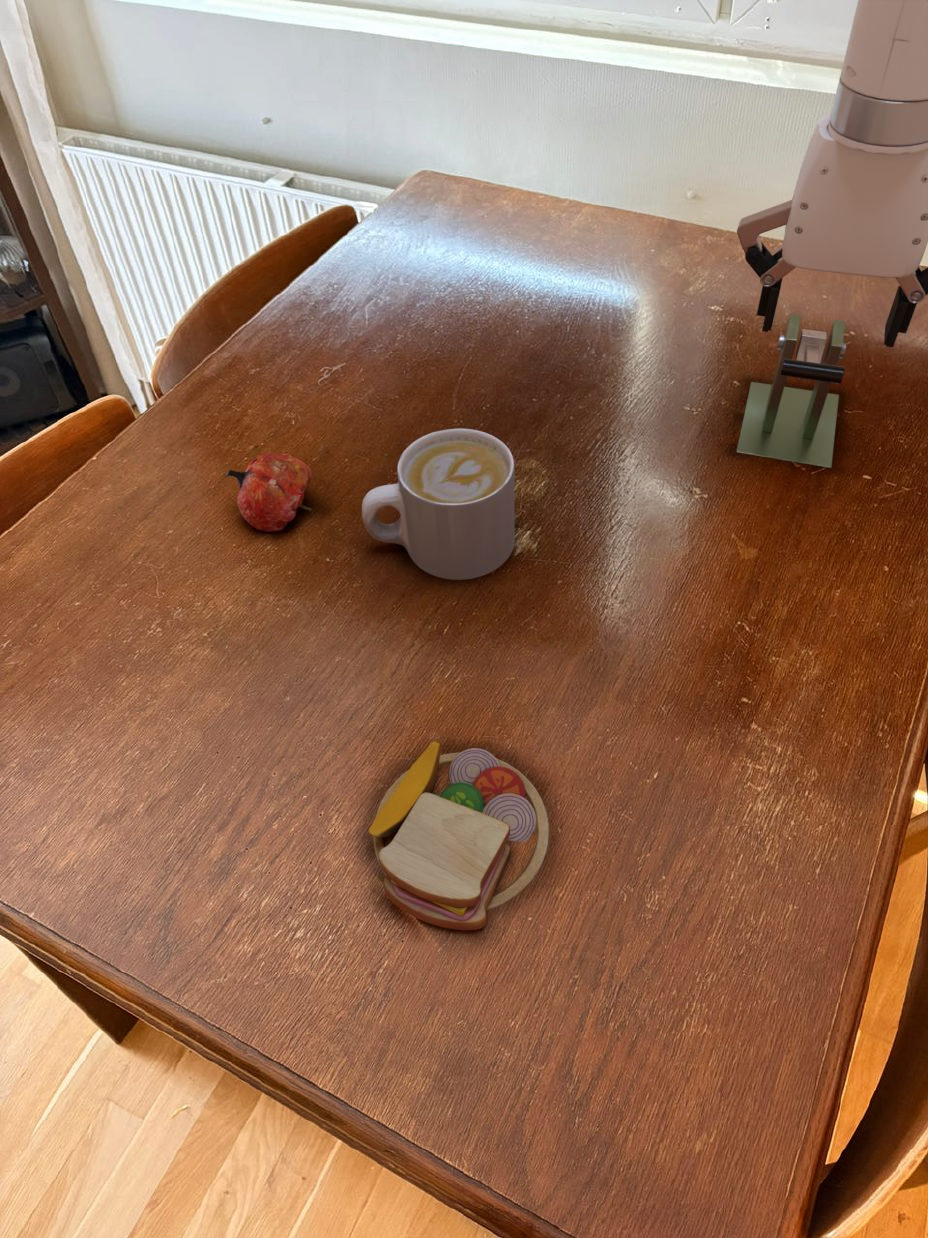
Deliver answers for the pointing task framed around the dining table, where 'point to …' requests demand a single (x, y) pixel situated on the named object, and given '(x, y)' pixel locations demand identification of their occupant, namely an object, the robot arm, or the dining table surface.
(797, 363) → the lever
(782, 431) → the bracket
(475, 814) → the toy sandwich meal
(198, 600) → the dining table surface
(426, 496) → the coffee mug
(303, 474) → the pomegranate
